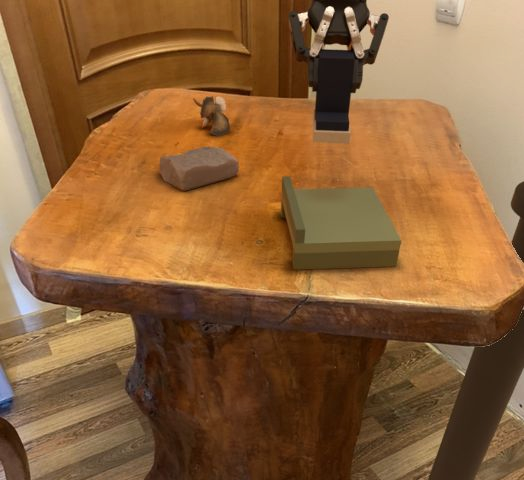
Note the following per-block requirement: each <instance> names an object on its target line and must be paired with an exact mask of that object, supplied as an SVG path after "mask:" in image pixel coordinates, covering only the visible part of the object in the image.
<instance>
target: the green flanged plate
mask: <svg viewBox="0 0 524 480" xmlns="http://www.w3.org/2000/svg"><path fill="white" fill-rule="evenodd" d="M280 199H281V201H280V216H281V219H286V224H287V226H288V227H287V228H288V232H289V236H290V240H291V244H292V260H291V261H292V262H291V264H292V269H293V271H295V270H297V271H298V270H300V271H302V270H326V269H327V270H330V269H358V268H387V267H388V268H390V267H397V264H398V260H399V254H400V250H401V245H402V239H401V237H400V234H399V233H398V231H397V229H396V228H395V225H394V224H393V222H392V220H391V217H390V216H389V215H388V212H387V211H386V208H385V206H384V204H383V203H382V201H381V199H380V198H379V196H378V194H377V192H376V190H375V188H374V187H372V186H371V187H367V186H366V187H365V186H364V187H331V188H330V187H329V188H327V187H323V188H322V187H321V188H319V187H318V188H295V187H294V185H293V182H292V178H291V175H290V176H289V175H287V176H281V198H280Z"/></svg>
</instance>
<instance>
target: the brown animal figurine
mask: <svg viewBox="0 0 524 480" xmlns="http://www.w3.org/2000/svg"><path fill="white" fill-rule="evenodd" d="M192 100H193V102H194V103H195V105H196V106H198V107H200V112H199V114H200V119H203V122H202V126H201V129H203V128H205V127H207V125H208V124H209V123H210V122H212V125H211V129H210V131H209V132H210V134H212V135H213V136H215V137H221V136H223V135H226V134H227V133H229V132H230V129H231V125H230V121H229V118H228V117H227V115H226V114H224V112H225V111H226V110H227V106H226V101H225V99H224V97H222V96H220V95H216V96H215V100H214V96H206V97H204V98H203V100H202V102H201V103H200V102H199V101H198V100H197V99H195V98H194V97H193V98H192Z"/></svg>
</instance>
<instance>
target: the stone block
mask: <svg viewBox="0 0 524 480" xmlns="http://www.w3.org/2000/svg"><path fill="white" fill-rule="evenodd" d="M158 167H159V173H160V174H159V175H160V176H161V177H162V180H163V181H164V182H165V183H168V184H169V185H172V186H173V187H174V188H177V189H178V190H180V191H183V192H186V191H190V190H193V189H196V188H197V189H198V188H200V187H204V186H207V185H211V184H215V183H217V182H220V181H225V180H228V179H231V178H232V177H235V176H237V174H238V172H239V169H240V164H239V161H238V159H237V158H236V156H233V155H232V154H230V153H229V151H227V150H225V149H224V148H222V147H220V146H219V147H216V146H201V147H198V148H193V149H189V150H187V151H185V152H184V153H182V154H172V155H166V156H160V158H159V166H158Z"/></svg>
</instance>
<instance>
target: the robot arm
mask: <svg viewBox="0 0 524 480" xmlns="http://www.w3.org/2000/svg"><path fill="white" fill-rule="evenodd" d="M370 12H371V11H370V9H369V8H368V4H367V0H311V4H310V6H309V7H308V9H307V11H304V12H301V13H298V11H296V10H295V9H294V10H290V11H289V13H288V30H289V34H290V38H291V43H292V46H293V52H294V56H295V59H296V61H297V62H298V63H306V64H307V67H308V69H307V86H308V88H311V91H312V92H314V93H316V92H317V88H318V72H319V52H320V49H325V47H326V46H332V45H336V44H337V45H340V46H345V47H346V50H353V53H354V58H355V63H354V71H353V80H352V88H351V94H356V92H357V90H360V88H361V86H362V83H363V77H364V76H363V75H364V74H363V73H364V66H365V65H374V64H375V63H376V60H377V56H378V54H379V50H380V48H381V45H382V41H383V38H384V35H385V33H386V29H387V26H388V22H389V18H390V16H389V14H388V13H385V12H384V13H381V14H380V15H376V14H373V13H370ZM307 23H308V24H309V26H310V27H311V29H312V30H313V32H314V33H315V35H314V40H313V41H312V45H311V47H308V46H306V44H305V40H304V39H305V38H304V35H303V32H305V29H306V25H307ZM367 25H368V26H369V31H370V34H371V35H372V39H371V42H370V45H369V48H366V49H364V47H363V44H362V38H361V32H362V31H363V30H364V28H365V27H367Z"/></svg>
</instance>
